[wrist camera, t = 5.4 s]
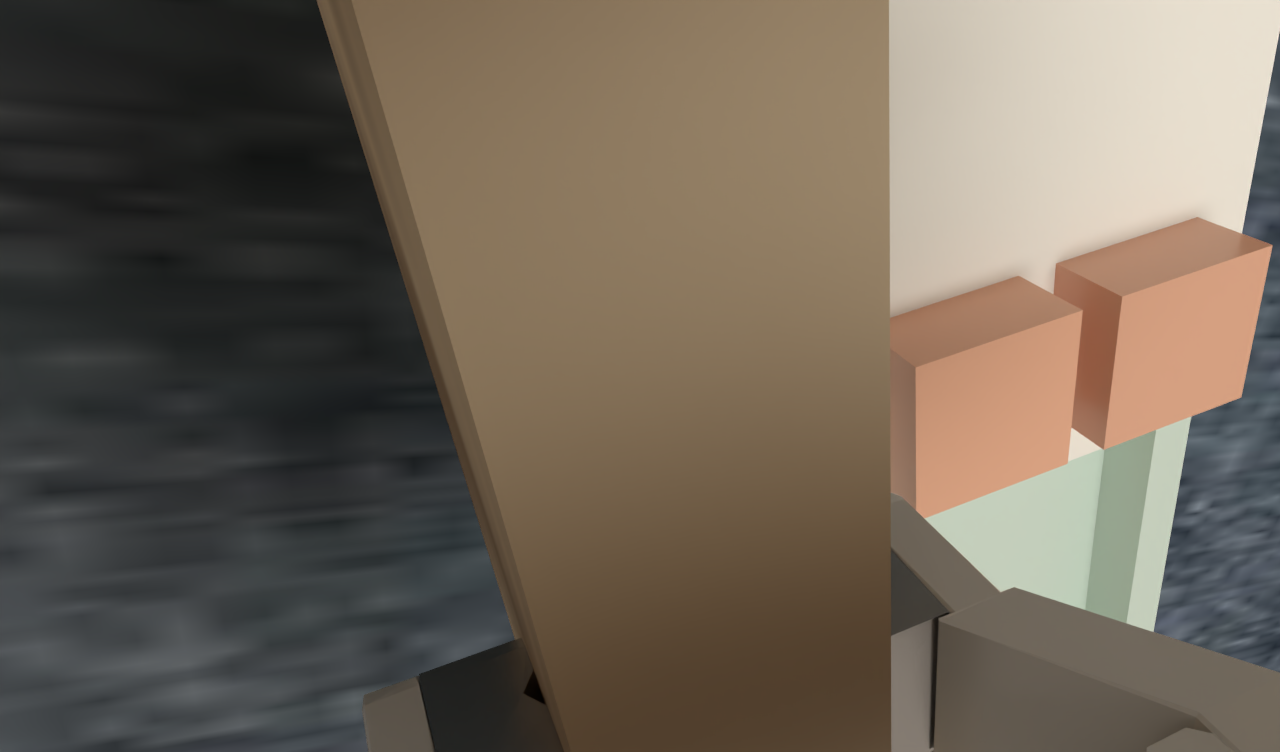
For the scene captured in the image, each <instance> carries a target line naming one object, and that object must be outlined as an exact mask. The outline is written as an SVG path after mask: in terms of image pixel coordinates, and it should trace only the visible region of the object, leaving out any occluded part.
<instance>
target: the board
mask: <svg viewBox="0 0 1280 752" xmlns="http://www.w3.org/2000/svg"><path fill="white" fill-rule="evenodd" d="M1279 31H1280V0H889V146H890V318H891V317H894V316H897V315H900V314H903V313H906V312H910V311H913V310H916V309H919V308H922V307H925V306H928V305H931V304H934V303H937V302H940V301H943V300H946V299H949V298H952V297H955V296H958V295H961V294H964V293H967V292H971V291H974V290H977V289H980V288H983V287H986V286H989V285H992V284H995V283H998V282H1001V281H1004V280H1007V279H1010V278H1013V277H1016V276H1020V277H1022V278H1024V279H1026V280H1028V281H1029V282H1031V283H1033V284H1035V285H1037V286H1039V287H1041V288H1042V289H1044V290H1046V291H1048V292H1050V293H1052V294H1054V281H1055V269H1056V263H1059V262H1062V261H1065V260H1068V259H1071V258H1074V257H1077V256H1080V255H1083V254H1086V253H1089V252H1093V251H1096V250H1099V249H1102V248H1105V247H1108V246H1111V245H1114V244H1117V243H1120V242H1123V241H1126V240H1129V239H1132V238H1135V237H1138V236H1141V235H1144V234H1147V233H1150V232H1154V231H1157V230H1160V229H1163V228H1166V227H1169V226H1172V225H1175V224H1178V223H1181V222H1184V221H1187V220H1190V219H1193V218H1196V217H1199V218H1201V219H1204V220H1207V221H1209V222H1212V223H1215V224H1217V225H1220V226H1223V227H1225V228H1228V229H1231V230H1233V231H1236V232H1239V233H1241V234H1242V230H1243V224H1244V219H1245V213H1246V208H1247V203H1248V197H1249V192H1250V187H1251V181H1252V176H1253V171H1254V165H1255V160H1256V154H1257V149H1258V144H1259V138H1260V133H1261V128H1262V122H1263V117H1264V112H1265V106H1266V101H1267V96H1268V90H1269V85H1270V79H1271V74H1272V69H1273V63H1274V58H1275V53H1276V47H1277V42H1278V37H1279ZM1100 449H1102V448H1100V447H1099V446H1097V445H1096V444H1095V443H1093V442H1092V441H1090V440H1089V439H1087V438H1086V437H1084V436H1083V435H1081V434H1080V433H1079V432H1077V431H1076V430H1074V429H1073V428H1071V436H1070V446H1069V456H1068V461H1071V460H1073V459H1076V458H1079V457H1081V456H1084V455H1087V454H1089V453H1092V452H1094V451H1097V450H1100Z"/></svg>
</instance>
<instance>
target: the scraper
mask: <svg viewBox="0 0 1280 752" xmlns="http://www.w3.org/2000/svg"><path fill="white" fill-rule="evenodd" d="M317 3H318V7H319V10H320V13H321V16H322V19H323V23H324V26H325V29H326V32H327V36H328V39H329V42H330V45H331V48H332V52H333V55H334V58H335V61H336V65H337V68H338V71H339V74H340V77H341V81H342V84H343V87H344V90H345V93H346V97H347V100H348V103H349V106H350V110H351V113H352V116H353V119H354V122H355V126H356V129H357V132H358V135H359V139H360V142H361V145H362V148H363V151H364V155H365V158H366V161H367V164H368V167H369V171H370V174H371V177H372V180H373V184H374V187H375V190H376V193H377V196H378V200H379V203H380V206H381V209H382V212H383V216H384V219H385V222H386V225H387V229H388V232H389V235H390V238H391V241H392V245H393V248H394V251H395V254H396V258H397V261H398V264H399V267H400V270H401V274H402V277H403V280H404V283H405V286H406V290H407V293H408V296H409V299H410V303H411V306H412V309H413V312H414V315H415V319H416V322H417V325H418V328H419V332H420V335H421V338H422V341H423V344H424V348H425V351H426V354H427V357H428V360H429V364H430V367H431V370H432V373H433V377H434V380H435V383H436V386H437V389H438V393H439V396H440V399H441V402H442V405H443V409H444V412H445V415H446V418H447V422H448V425H449V428H450V431H451V434H452V438H453V441H454V444H455V447H456V451H457V454H458V457H459V460H460V463H461V467H462V470H463V473H464V476H465V479H466V483H467V486H468V489H469V492H470V496H471V499H472V502H473V505H474V508H475V512H476V515H477V518H478V521H479V525H480V528H481V531H482V534H483V537H484V541H485V544H486V547H487V550H488V553H489V557H490V560H491V563H492V566H493V570H494V573H495V576H496V579H497V582H498V586H499V589H500V592H501V595H502V598H503V602H504V605H505V608H506V611H507V615H508V618H509V621H510V624H511V627H512V631H513V634H514V637H515V640H516V639H519V638H521V637H522V640H523V642H524V644H525V647H526V650H527V652H528V655H529V658H530V660H531V663H532V666H533V669H534V672H535V675H536V678H537V682H538V685H539V688H540V692H541V695H542V698H543V701H544V705H546V706H548V709H549V712H550V715H551V717H552V720H553V723H554V725H555V728H556V731H557V734H558V736H559V739H560V742H561V744H562V747H563V750H564V752H891V466H890V146H889V0H317ZM931 752H934V750H933V751H931Z"/></svg>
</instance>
